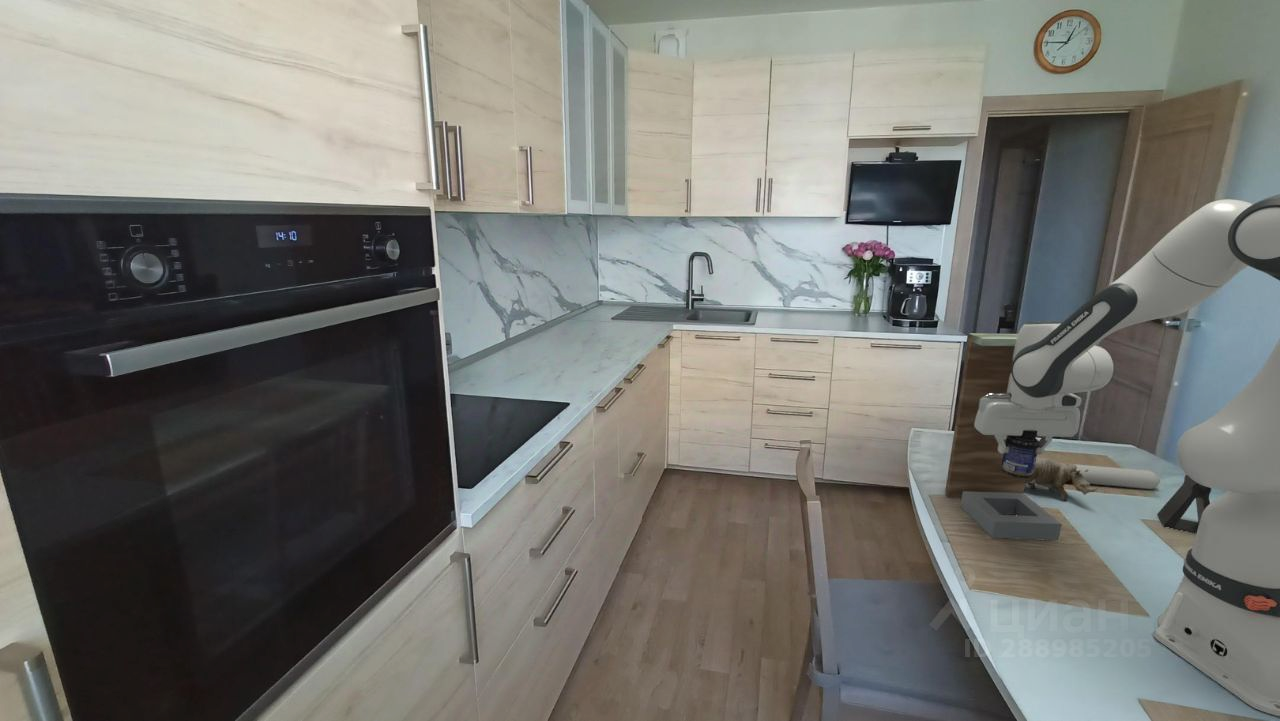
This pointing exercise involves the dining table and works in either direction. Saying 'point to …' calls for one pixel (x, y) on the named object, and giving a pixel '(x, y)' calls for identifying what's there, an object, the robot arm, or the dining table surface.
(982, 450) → the wood grain plank
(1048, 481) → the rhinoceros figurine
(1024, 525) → the socket block
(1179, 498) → the phone stand
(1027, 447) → the pill bottle
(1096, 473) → the tube
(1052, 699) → the dining table surface
